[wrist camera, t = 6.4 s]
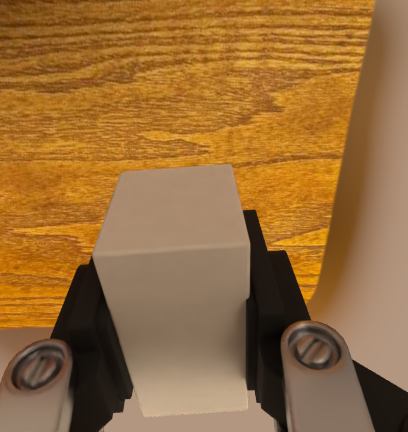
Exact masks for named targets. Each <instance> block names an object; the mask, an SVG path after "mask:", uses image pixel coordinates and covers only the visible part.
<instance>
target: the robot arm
mask: <svg viewBox="0 0 408 432" xmlns="http://www.w3.org/2000/svg"><path fill="white" fill-rule="evenodd" d="M242 211H243V215H244V219H245V224H246V228H247V232H248V236H249V241H250V296H249V298H247V299H246V386H247V391H249V390H255V396H256V402H257V403H261V408H262V409H263V410H264V411H265V412H267V413H268V414H269V415H270V416H271V417H273V418H274V427H275V432H408V392H406V391H404V390H403V389H401V388H399V387H398V386H396V385H394V384H393V383H391V382H389V381H388V380H386V379H384V378H383V377H381V376H379V375H378V374H376V373H374V372H373V371H371V370H369V369H368V368H366V367H364V366H363V365H361V364H359V363H357V362H356V361H354V360H352V358H351V355H350V352H349V349H348V346H347V344H346V342H345V340H344V339H343V337H342V336H341V335H340V334H339V333H338V332H337V331H336V330H334V329H333V328H331V327H330V326H328V325H326V324H324V323H321V322H318V321H311V319H310V316H309V313H308V310H307V307H306V305H305V302H304V299H303V296H302V294H301V291H300V288H299V285H298V283H297V280H296V277H295V274H294V272H293V269H292V266H291V263H290V261H289V258H288V255H287V253H286V251H285V250H279V251H267V247H266V244H265V240H264V237H263V234H262V230H261V227H260V223H259V220H258V216H257V213H256V210H242ZM132 392H133V384H132V381H131V378H130V375H129V372H128V368H127V365H126V362H125V359H124V356H123V353H122V349H121V346H120V343H119V340H118V337H117V333H116V330H115V327H114V324H113V321H112V318H111V314H110V311H109V308H108V305H107V302H106V299H105V295H104V292H103V289H102V286H101V283H100V280H99V276H98V273H97V270H96V267H95V264H94V261H93V257H92V256H91V259H90V262H89V264H85V265H80V266H79V267H78V268H77V270H76V273H75V275H74V278H73V280H72V283H71V286H70V288H69V291H68V293H67V296H66V298H65V301H64V304H63V306H62V309H61V311H60V314H59V316H58V319H57V322H56V324H55V327H54V329H53V332H52V334H51V337H50V339H44V340H40V341H36V342H34V343H32V344H30V345H28V346H26V347H25V348H24V349H22V350H21V351H20V352H18V353H17V354H16V355H15V356H14V358H13V359H12V360H11V361H10V362H9V364H8V366H7V368H6V370H5V372H4V375H3V377H2V380H1V383H0V432H104V426H105V425H106V424H107V423H108V422H109V421H110V420H111V419H112V416H113V413H120V412H123V408H124V402H125V399H130V398H131V396H132Z"/></svg>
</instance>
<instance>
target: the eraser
mask: <svg viewBox="0 0 408 432" xmlns="http://www.w3.org/2000/svg"><path fill="white" fill-rule="evenodd" d="M92 257H93V261H94V264H95V267H96V270H97V273H98V276H99V280H100V283H101V286H102V289H103V292H104V295H105V299H106V302H107V305H108V308H109V311H110V314H111V318H112V321H113V324H114V327H115V330H116V333H117V337H118V340H119V343H120V346H121V349H122V353H123V356H124V359H125V362H126V365H127V368H128V372H129V375H130V378H131V381H132V384H133V388H134V391H135V394H136V397H137V400H138V404H139V407H140V410H141V413H142V416H143V417H156V416H169V415H184V414H197V413H211V412H226V411H240V410H247V409H248V391H247V386H246V299H247V298H249V296H250V241H249V236H248V232H247V228H246V224H245V219H244V215H243V211H242V207H241V203H240V198H239V194H238V190H237V186H236V182H235V177H234V173H233V169H232V166H231V165H230V164H221V165H208V166H194V167H181V168H167V169H154V170H140V171H127V172H122V173H121V174H120V177H119V180H118V182H117V185H116V188H115V191H114V194H113V196H112V199H111V202H110V205H109V208H108V211H107V213H106V216H105V219H104V222H103V225H102V227H101V230H100V233H99V236H98V239H97V242H96V244H95V247H94V250H93V253H92Z"/></svg>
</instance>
